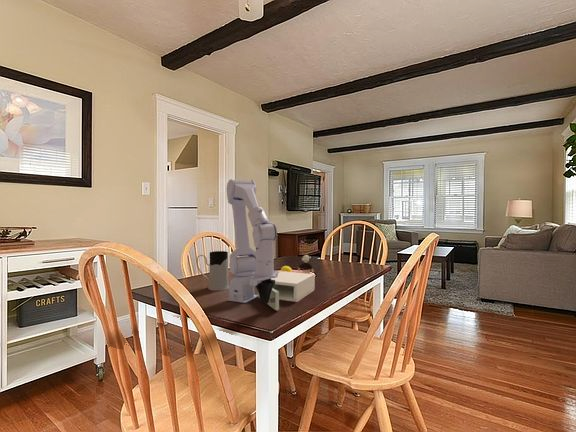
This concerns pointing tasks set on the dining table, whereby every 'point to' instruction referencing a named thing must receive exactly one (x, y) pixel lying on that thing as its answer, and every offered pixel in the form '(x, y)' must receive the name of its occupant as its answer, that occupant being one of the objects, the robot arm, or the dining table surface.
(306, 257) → the grandmother figurine
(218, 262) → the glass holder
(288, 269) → the lemon
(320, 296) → the dining table surface
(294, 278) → the cabinet
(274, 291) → the door
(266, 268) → the robot arm
